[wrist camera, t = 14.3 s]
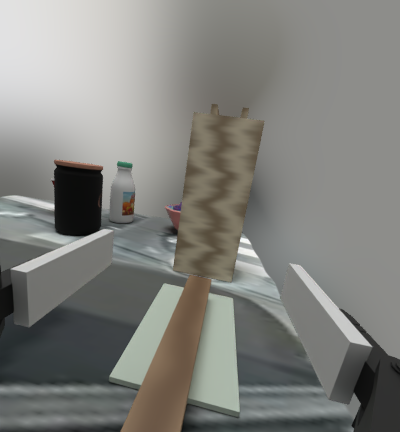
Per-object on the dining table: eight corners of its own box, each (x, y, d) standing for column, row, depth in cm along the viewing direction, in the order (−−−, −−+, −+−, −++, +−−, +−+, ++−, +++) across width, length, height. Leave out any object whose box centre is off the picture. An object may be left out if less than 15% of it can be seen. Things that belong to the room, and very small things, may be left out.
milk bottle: (111, 224, 62) (115, 160, 57) (107, 217, 68) (109, 159, 63) (135, 223, 66) (140, 164, 62) (129, 217, 72) (133, 163, 68)
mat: (109, 381, 18) (109, 376, 18) (163, 286, 33) (164, 283, 33) (238, 417, 17) (239, 412, 16) (232, 301, 32) (232, 298, 32)
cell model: (229, 240, 64) (235, 207, 62) (173, 242, 54) (178, 203, 52) (204, 225, 78) (208, 198, 76) (156, 224, 69) (160, 193, 66)
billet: (113, 480, 12) (116, 440, 11) (187, 293, 31) (190, 274, 31) (167, 501, 11) (174, 461, 11) (207, 298, 31) (211, 279, 30)
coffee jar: (106, 233, 53) (109, 167, 49) (59, 239, 45) (59, 161, 42) (93, 223, 60) (95, 164, 56) (50, 226, 52) (49, 158, 49)
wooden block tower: (172, 270, 39) (195, 101, 32) (182, 253, 48) (201, 118, 41) (231, 282, 38) (266, 110, 31) (230, 262, 47) (257, 125, 40)
